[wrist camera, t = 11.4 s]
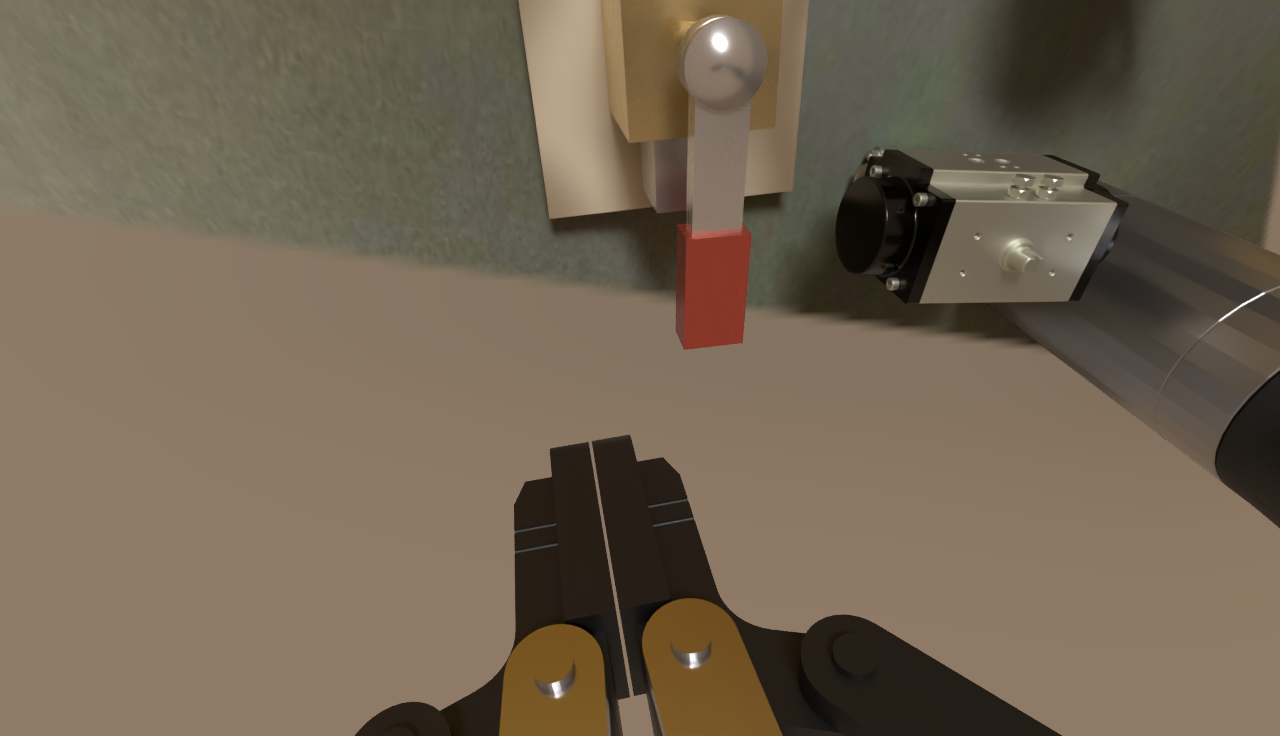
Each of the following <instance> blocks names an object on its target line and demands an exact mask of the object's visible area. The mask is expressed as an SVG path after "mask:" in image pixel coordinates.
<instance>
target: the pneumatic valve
mask: <svg viewBox="0 0 1280 736" xmlns="http://www.w3.org/2000/svg"><path fill="white" fill-rule="evenodd" d="M866 159H867V161H868V163H867V164H864V165H862V166H860V167H859V168H858V170H857V172H856V173H855V176H854V179H853V183H852V184H851V185H850V186H849V188H848V189H847V191H846V192H845V194H844V196H843V199H842V201H841V204H840V207H839V210H838V215H837V221H836V246H837V251H838V255H839V258H840V260H841V263H842V264H843V266H844V267H845V269H846V270H847V271H848V272H850V273H851V274H854V275H875V276H876V277H877V278H878V279H879V280H880V281H881V282H883V283H884V284H885V285H886V288H887V289H888V290H891V291H892V292H893V293H895V294H896V295H897V296H898V297H899V298H900V299H901V300H902V301H903V302H904V303H905V304H917V303H987V302H1057V301H1079V300H1080V299H1081V297H1082V295H1083V293H1084V291H1085V289H1086V287H1087V285H1088V283H1089V281H1090V279H1091V277H1092V275H1093V274H1094V272H1095V270H1096V268H1097V266H1098V264H1100V263H1101V262H1102V261H1103V260H1104V259H1105V258H1106V257H1107V255H1108V254H1109V253H1110V251H1111V250H1112V248H1113V246H1114V244H1115V242H1116V239H1117V236H1118V232H1119V227H1120V222H1121V220H1122V218H1123V216H1124V214H1125V212H1126V210H1127V208H1128V206H1129V203H1128V202H1126V201H1123V200H1121V199H1119V198H1116V197H1114V196H1113V195H1112V194H1111V193H1110V192H1109V191H1108V190H1107V189H1106V188H1104V187H1103V186H1101V185H1099V184H1097V181H1098V179H1099V177H1100V174H1099V173H1096V172H1094V171H1091V170H1089V169H1086V168H1084V167H1081V166H1079V165H1076V164H1073V163H1071V162H1068V161H1066V160H1063V159H1061V158H1058V157H1056V156H1053V155H1033V154H1006V153H978V152H950V151H932V150H931V149H927V148H901V147H875V148H874V149H873V150H870V151H869V152H868V153H867V154H866Z"/></svg>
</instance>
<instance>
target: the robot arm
mask: <svg viewBox="0 0 1280 736" xmlns="http://www.w3.org/2000/svg"><path fill="white" fill-rule="evenodd" d="M1097 184H1099V185H1101V186H1103V187H1104V188H1106V189H1107V190H1108V191H1109V192H1110V193H1111V194H1112V195H1113V196H1114V197H1116V198H1119V199H1121V200H1123V201H1126V202H1128V203H1129V206H1128V208H1127V210H1126V212H1125V214H1124V216H1123V218H1122V220H1121V222H1120V227H1119V232H1118V236H1117V239H1116V242H1115V244H1114V246H1113V248H1112V250H1111V251H1110V253H1109V254H1108V255H1107V257H1106V258H1105V259H1104V260H1103V261H1102V262H1101V263H1100V264H1098V266H1097V268H1096V270H1095V272H1094V274H1093V275H1092V277H1091V279H1090V281H1089V283H1088V285H1087V287H1086V289H1085V291H1084V293H1083V295H1082V297H1081V299H1080V300H1079V301H1057V302H987V304H989V305H990V306H991V307H993V308H994V309H995V310H997V311H998V312H999V313H1001V314H1002V315H1003V316H1004V317H1006V318H1007V319H1008V320H1010V321H1011V322H1012V323H1014V324H1015V325H1016V326H1017V327H1019V328H1020V329H1021V330H1022V331H1024V332H1025V333H1026V334H1027V335H1029V336H1030V337H1031V338H1033V339H1034V340H1035V341H1037V342H1038V343H1039V344H1040V345H1042V346H1043V347H1044V348H1046V349H1047V350H1048V351H1050V352H1051V353H1052V354H1054V355H1055V356H1056V357H1058V358H1059V359H1060V360H1062V361H1063V362H1064V363H1066V364H1067V365H1068V366H1069V367H1071V368H1072V369H1073V370H1075V371H1076V372H1077V373H1079V374H1080V375H1081V376H1082V377H1084V378H1085V379H1086V380H1088V381H1089V382H1090V383H1092V384H1093V385H1094V386H1096V387H1097V388H1098V389H1100V390H1101V391H1102V392H1103V393H1105V394H1106V395H1107V396H1109V397H1110V398H1111V399H1113V400H1114V401H1115V402H1117V403H1118V404H1119V405H1121V406H1122V407H1123V408H1124V409H1126V410H1127V411H1128V412H1130V413H1131V414H1132V415H1134V416H1135V417H1136V418H1138V419H1139V420H1140V421H1142V422H1143V423H1144V424H1145V425H1147V426H1148V427H1150V428H1151V429H1152V430H1153V431H1155V432H1156V433H1157V434H1159V435H1160V436H1161V437H1162V438H1164V439H1165V440H1167V441H1168V442H1170V443H1171V444H1172V445H1174V446H1175V447H1176V448H1178V449H1179V450H1180V451H1181V452H1183V453H1184V454H1185V455H1187V456H1188V457H1189V458H1191V459H1192V460H1193V461H1195V462H1196V463H1197V464H1199V465H1200V466H1201V467H1202V468H1204V469H1205V470H1206V471H1208V472H1209V473H1210V474H1212V475H1213V476H1214V477H1215V478H1217V479H1218V480H1220V481H1221V482H1222V483H1224V484H1225V485H1226V486H1227V487H1229V488H1230V489H1232V490H1233V491H1234V492H1235V493H1237V494H1238V495H1239V496H1241V497H1242V498H1243V499H1245V500H1246V501H1247V502H1249V503H1250V504H1251V505H1252V506H1254V507H1255V508H1256V509H1257V510H1259V511H1260V512H1261V513H1263V515H1265V516H1266V517H1267V518H1268V519H1269V520H1271V521H1272V522H1273V523H1274V524H1275V525H1277V526H1278V527H1279V528H1280V255H1278V254H1276V253H1273V252H1271V251H1269V250H1266V249H1264V248H1261V247H1259V246H1256V245H1254V244H1251V243H1249V242H1247V241H1244V240H1242V239H1239V238H1237V237H1234V236H1232V235H1230V234H1227V233H1225V232H1222V231H1220V230H1217V229H1215V228H1212V227H1210V226H1208V225H1205V224H1203V223H1200V222H1198V221H1195V220H1193V219H1191V218H1188V217H1186V216H1183V215H1181V214H1178V213H1176V212H1174V211H1171V210H1169V209H1166V208H1164V207H1161V206H1159V205H1156V204H1154V203H1152V202H1149V201H1147V200H1145V199H1143V198H1140V197H1138V196H1135V195H1133V194H1130V193H1128V192H1125V191H1123V190H1120V189H1118V188H1115V187H1113V186H1110V185H1108V184H1106V183H1103V182H1101V181H1097ZM592 445H593V451H594V458H595V463H596V470H597V477H598V483H599V489H600V496H601V502H602V508H603V514H604V520H605V526H606V532H607V538H608V544H609V550H610V556H611V562H612V568H613V574H614V580H615V586H616V592H617V598H618V603H619V610H620V616H621V621H622V627H623V633H624V639H625V645H626V651H627V657H628V663H629V669H630V675H631V681H632V687H633V693H634V696H635V695H641V694H645V693H646V694H647V699H648V704H649V710H650V716H651V721H652V726H653V733H654V736H1062V735H1060V734H1058V733H1057V732H1055V731H1053V730H1052V729H1050V728H1048V727H1047V726H1045V725H1043V724H1042V723H1040V722H1038V721H1037V720H1035V719H1033V718H1032V717H1030V716H1028V715H1027V714H1025V713H1023V712H1022V711H1020V710H1018V709H1017V708H1015V707H1013V706H1011V705H1010V704H1008V703H1007V702H1005V701H1003V700H1001V699H1000V698H998V697H997V696H995V695H993V694H992V693H990V692H988V691H987V690H985V689H983V688H982V687H980V686H978V685H977V684H975V683H973V682H972V681H970V680H968V679H967V678H965V677H963V676H962V675H960V674H958V673H957V672H955V671H953V670H952V669H950V668H948V667H947V666H945V665H943V664H942V663H940V662H938V661H937V660H935V659H933V658H932V657H930V656H928V655H927V654H925V653H923V652H922V651H920V650H918V649H917V648H915V647H913V646H911V645H910V644H908V643H907V642H905V641H903V640H902V639H900V638H898V637H896V636H895V635H893V634H892V633H890V632H888V631H887V630H885V629H883V628H881V627H880V626H878V625H877V624H875V623H873V622H871V621H869V620H866V619H864V618H861V617H857V616H852V615H833V616H829V617H826V618H824V619H822V620H819V621H818V622H816V623H815V624H814V625H812V626H811V628H810V629H809V630H808V631H807V633H797V632H788V631H779V630H771V629H765V628H761V627H758V626H754V625H752V624H750V623H748V622H746V621H744V620H742V619H741V618H739V617H737V616H736V615H735V614H734V613H733V612H732V611H730V610H729V608H728V607H727V606H726V605H725V604H724V602H723V601H722V599H721V598H720V595H719V593H718V591H717V588H716V585H715V582H714V579H713V576H712V573H711V569H710V566H709V563H708V560H707V557H706V554H705V551H704V548H703V545H702V542H701V539H700V535H699V532H698V529H697V526H696V523H695V521H694V518H693V514H692V511H691V508H690V504H689V502H688V500H687V495H686V492H685V489H684V486H683V483H682V480H681V477H680V474H679V473H678V472H677V471H676V470H675V469H674V468H673V467H672V466H671V465H670V464H669V463H668V462H667V461H666V460H665V459H664V458H663V457H662V458H656V459H651V460H644V461H639V462H637V460H636V456H635V452H634V448H633V444H632V440H631V436H630V435H625V436H619V437H613V438H608V439H602V440H596V441H592ZM550 457H551V470H552V477H550V478H544V479H539V480H533V481H527V482H525V484H524V486H523V488H522V490H521V492H520V494H519V496H518V498H517V500H516V502H515V504H514V530H515V536H514V537H515V612H516V633H515V641H514V645H513V648H512V651H511V653H510V656H509V657H508V659H507V661H506V663H505V664H504V666H503V667H502V669H501V670H500V671H499V672H498V673H497V675H495V676H494V678H493V679H492V680H490V681H489V682H488V683H487V684H485V685H484V686H483V687H482V688H480V689H478V690H477V691H475V692H473V693H472V694H470V695H468V696H466V697H464V698H462V699H461V700H459V701H457V702H455V703H453V704H452V705H450V706H448V707H446V708H444V709H443V710H441V711H439V710H437V709H436V708H435V707H433V706H431V705H428V704H425V703H421V702H407V703H401V704H398V705H395V706H392V707H390V708H388V709H386V710H384V711H382V712H380V713H379V714H377V715H376V716H374V717H373V718H372V719H371V720H369V721H368V722H367V723H366V724H365V725H364V726H363V727H362V728H361V729H360V730H359V731H358V732H357V734H356V735H355V736H623V733H622V726H621V719H620V713H619V706H618V700H619V699H624V698H628V697H630V695H629V688H628V683H627V676H626V670H625V664H624V658H623V651H622V645H621V640H620V633H619V627H618V621H617V615H616V609H615V602H614V596H613V590H612V584H611V578H610V572H609V565H608V559H607V553H606V547H605V541H604V534H603V529H602V523H601V516H600V510H599V504H598V498H597V491H596V486H595V480H594V473H593V467H592V461H591V455H590V448H589V443H588V442H586V443H580V444H574V445H568V446H562V447H557V448H551V449H550Z"/></svg>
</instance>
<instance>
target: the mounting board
mask: <svg viewBox="0 0 1280 736" xmlns="http://www.w3.org/2000/svg"><path fill="white" fill-rule="evenodd" d="M518 2H519V9H520V16H521V23H522V30H523V37H524V44H525V51H526V58H527V65H528V71H529V78H530V85H531V92H532V99H533V106H534V113H535V120H536V127H537V134H538V141H539V148H540V155H541V162H542V169H543V176H544V183H545V190H546V197H547V204H548V211H549V218H550V219H554V218H563V217H571V216H580V215H588V214H597V213H606V212H614V211H623V210H631V209H640V208H649V207H653V206H652V204H651V202H650V200H649V199H648V197H647V195H646V193H645V191H644V189H643V187H642V168H641V149H640V142H635V143H629V142H628V140H627V138H626V137H625V135H624V133H623V132H622V130H621V128H620V127H619V125H618V123H617V122H616V120H615V118H614V117H613V115H612V113H611V112H610V110H609V100H608V87H607V74H606V61H605V49H604V36H603V23H602V10H601V0H518ZM808 6H809V0H783V14H782V29H781V44H780V60H779V75H778V90H777V106H776V121H775V128H769V129H759V130H750V131H749V138H748V152H747V165H746V179H745V193H744V196H752V195H760V194H769V193H777V192H786V191H793V182H794V170H795V158H796V147H797V135H798V123H799V111H800V100H801V88H802V76H803V65H804V53H805V41H806V30H807V18H808Z"/></svg>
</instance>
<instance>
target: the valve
mask: <svg viewBox="0 0 1280 736" xmlns="http://www.w3.org/2000/svg"><path fill="white" fill-rule="evenodd" d="M601 10H602V23H603V36H604V49H605V61H606V74H607V87H608V100H609V110H610V112H611V113H612V115H613V117H614V118H615V120H616V122H617V123H618V125H619V127H620V128H621V130H622V132H623V133H624V135H625V137H626V138H627V140H628V142H629V143H635V142H640V149H641V168H642V187H643V189H644V191H645V193H646V195H647V197H648V199H649V200H650V202H651V204H652V206H653V208H654V210H655V211H656V213H657V214H659V213H667V212H676V211H684V210H686V201H687V149H688V98H689V93H688V92H687V90H686V89H685V88H684V86H683V85H682V83H681V81H680V79H679V75H678V71H677V54H678V49H679V46H680V43H681V41H682V39H683V37H684V35H685V34H686V32H687V31H688V30H689V28H690V27H691V26H692V25H693V24H695V23H696V22H697V21H699V20H700V19H702V18H704V17H707V16H710V15H715V14H723V15H728V16H731V17H734V18H737V19H739V20H742V21H745V22H747V23H749V24H750V25H752V26H753V27H754V28H755V29H756V30H757V31H758V32H759V34H760V35H761V37H762V39H763V41H764V43H765V46H766V51H767V69H766V73H765V77H764V80H763V82H762V84H761V86H760V88H759V89H758V91H757V92H756V93H755V95H754V96H753V97H752V98H751V110H750V124H749V131H750V130H759V129H769V128H775V121H776V106H777V90H778V75H779V60H780V44H781V29H782V14H783V0H601Z"/></svg>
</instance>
